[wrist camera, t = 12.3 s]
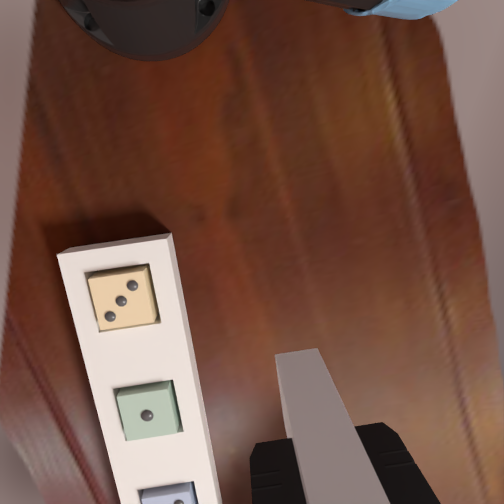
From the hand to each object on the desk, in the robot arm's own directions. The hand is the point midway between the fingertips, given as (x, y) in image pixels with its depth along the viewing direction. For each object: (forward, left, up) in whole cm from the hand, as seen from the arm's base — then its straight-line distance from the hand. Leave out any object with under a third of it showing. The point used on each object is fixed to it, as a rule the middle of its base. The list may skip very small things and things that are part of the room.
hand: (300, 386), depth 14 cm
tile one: (+15, -13, -26) cm, 33 cm away
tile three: (+3, -13, -26) cm, 29 cm away
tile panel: (+15, -13, -26) cm, 33 cm away
